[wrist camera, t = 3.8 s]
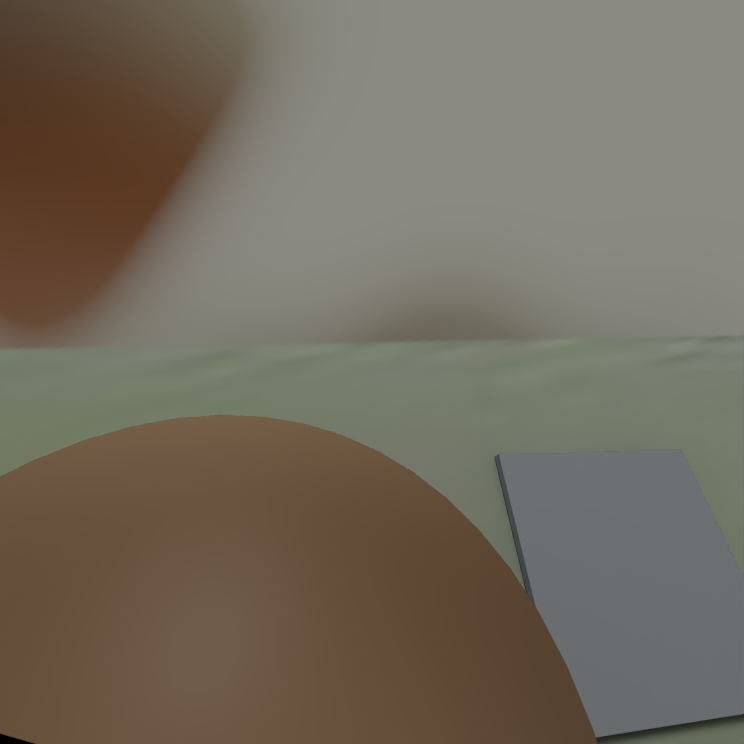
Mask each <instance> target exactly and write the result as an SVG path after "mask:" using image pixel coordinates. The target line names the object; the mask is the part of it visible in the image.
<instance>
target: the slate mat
mask: <svg viewBox="0 0 744 744" xmlns="http://www.w3.org/2000/svg"><path fill="white" fill-rule="evenodd" d="M495 460H496V464H497V468H498V473H499V477H500V481H501V485H502V490H503V494H504V498H505V502H506V507H507V511H508V515H509V519H510V524H511V528H512V532H513V536H514V541H515V545H516V549H517V553H518V558H519V562H520V566H521V570H522V575H523V579H524V583H525V587H526V592H527V595H528V596H529V598H530V599H531V601H532V602H533V604H534V606H535V607H536V609H537V610H538V612H539V613H540V615H541V617H542V619H543V621H544V623H545V625H546V627H547V628H548V630H549V632H550V634H551V636H552V638H553V640H554V642H555V644H556V646H557V648H558V650H559V651H560V653H561V655H562V657H563V659H564V661H565V663H566V665H567V667H568V669H569V672H570V674H571V676H572V679H573V681H574V684H575V686H576V689H577V691H578V694H579V696H580V698H581V701H582V703H583V706H584V708H585V711H586V713H587V715H588V718H589V720H590V723H591V725H592V728H593V730H594V733H595V737H602V736H608V735H614V734H621V733H627V732H633V731H639V730H646V729H652V728H658V727H665V726H671V725H677V724H683V723H690V722H696V721H702V720H709V719H715V718H721V717H727V716H734V715H740V714H744V576H743V574H742V572H741V570H740V568H739V566H738V564H737V562H736V560H735V558H734V556H733V554H732V552H731V550H730V548H729V546H728V544H727V542H726V540H725V537H724V535H723V533H722V531H721V529H720V527H719V525H718V523H717V521H716V519H715V517H714V515H713V513H712V511H711V509H710V507H709V505H708V503H707V501H706V499H705V497H704V495H703V493H702V491H701V489H700V486H699V484H698V482H697V480H696V478H695V476H694V474H693V472H692V470H691V468H690V466H689V464H688V462H687V460H686V458H685V456H684V454H683V452H682V450H681V449H680V450H643V451H605V452H567V453H530V454H499V455H497V456H496V457H495Z"/></svg>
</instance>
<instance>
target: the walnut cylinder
mask: <svg viewBox="0 0 744 744" xmlns="http://www.w3.org/2000/svg"><path fill="white" fill-rule="evenodd" d="M0 744H598V743H597V740H596V737H595V733H594V730H593V728H592V725H591V723H590V720H589V718H588V715H587V713H586V711H585V708H584V706H583V703H582V701H581V698H580V696H579V694H578V691H577V689H576V686H575V684H574V681H573V679H572V676H571V674H570V672H569V669H568V667H567V665H566V663H565V661H564V659H563V657H562V655H561V653H560V651H559V650H558V648H557V646H556V644H555V642H554V640H553V638H552V636H551V634H550V632H549V630H548V628H547V627H546V625H545V623H544V621H543V619H542V617H541V615H540V613H539V612H538V610H537V609H536V607H535V606H534V604H533V602H532V601H531V599H530V598H529V596H528V595H527V593H526V592H525V590H524V589H523V587H522V586H521V584H520V583H519V581H518V579H517V578H516V576H515V575H514V573H513V572H512V570H511V569H510V567H509V566H508V565H507V564H506V563H505V561H504V560H503V559H502V558H501V556H500V555H499V554H498V553H497V551H496V550H495V549H494V548H493V547H492V545H491V544H490V543H489V542H488V540H487V539H486V538H485V537H484V535H483V534H482V533H481V532H480V531H479V529H478V528H476V527H475V526H474V525H473V524H472V523H471V522H470V521H469V520H468V519H467V518H466V517H465V516H464V515H463V514H462V513H461V512H460V511H459V510H458V509H457V508H456V507H455V506H454V505H453V504H452V503H451V502H450V501H449V500H448V499H447V498H446V497H445V496H443V495H442V494H441V493H439V492H438V491H437V490H436V489H434V488H433V487H432V486H430V485H429V484H428V483H427V482H425V481H424V480H423V479H421V478H420V477H419V476H418V475H416V474H415V473H414V472H412V471H411V470H409V469H407V468H406V467H404V466H402V465H400V464H399V463H397V462H395V461H394V460H392V459H390V458H389V457H387V456H385V455H384V454H382V453H380V452H379V451H377V450H375V449H372V448H370V447H368V446H365V445H363V444H361V443H359V442H356V441H354V440H352V439H350V438H347V437H345V436H343V435H340V434H337V433H333V432H330V431H327V430H323V429H320V428H317V427H313V426H310V425H306V424H303V423H297V422H291V421H285V420H279V419H273V418H267V417H255V416H233V415H215V416H201V417H187V418H176V419H170V420H165V421H159V422H154V423H148V424H143V425H138V426H132V427H128V428H125V429H122V430H118V431H115V432H111V433H108V434H104V435H101V436H98V437H94V438H91V439H87V440H84V441H81V442H79V443H76V444H74V445H71V446H68V447H66V448H63V449H61V450H58V451H56V452H53V453H51V454H48V455H46V456H43V457H41V458H38V459H36V460H33V461H31V462H29V463H27V464H25V465H23V466H21V467H19V468H17V469H15V470H13V471H11V472H9V473H7V474H5V475H3V476H1V477H0Z"/></svg>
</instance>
